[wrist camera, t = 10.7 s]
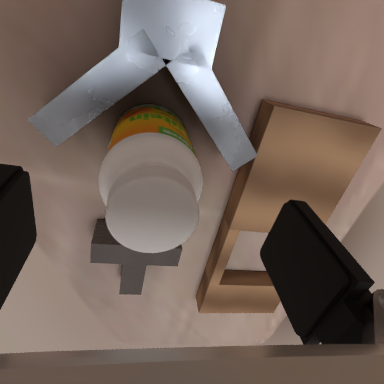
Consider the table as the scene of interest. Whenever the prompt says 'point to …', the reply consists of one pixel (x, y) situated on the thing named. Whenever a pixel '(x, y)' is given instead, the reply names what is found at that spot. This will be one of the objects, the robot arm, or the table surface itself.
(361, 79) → the table surface
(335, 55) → the table surface
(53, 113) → the vee block
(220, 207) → the table surface
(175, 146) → the supplement bottle
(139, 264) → the gray tee-shaped block
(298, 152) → the block with square hole
